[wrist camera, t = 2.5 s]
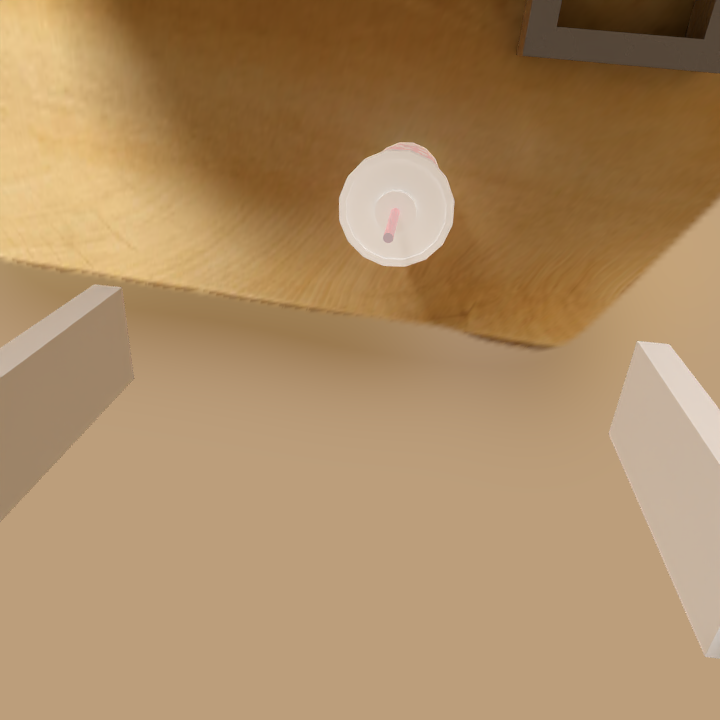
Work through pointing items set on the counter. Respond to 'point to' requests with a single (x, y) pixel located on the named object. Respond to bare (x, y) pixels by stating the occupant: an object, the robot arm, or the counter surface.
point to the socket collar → (623, 40)
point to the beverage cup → (397, 206)
